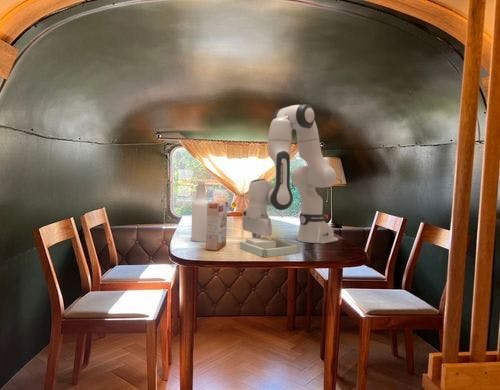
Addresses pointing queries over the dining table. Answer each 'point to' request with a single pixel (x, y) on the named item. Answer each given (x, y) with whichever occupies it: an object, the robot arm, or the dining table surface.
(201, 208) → the alcohol
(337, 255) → the dining table surface
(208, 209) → the cracker box
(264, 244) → the carton
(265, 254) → the u-shaped frame
